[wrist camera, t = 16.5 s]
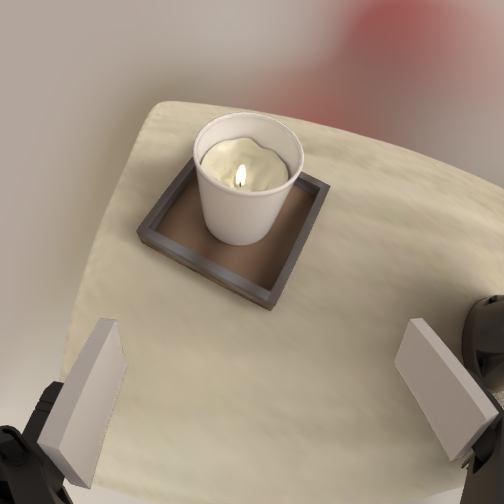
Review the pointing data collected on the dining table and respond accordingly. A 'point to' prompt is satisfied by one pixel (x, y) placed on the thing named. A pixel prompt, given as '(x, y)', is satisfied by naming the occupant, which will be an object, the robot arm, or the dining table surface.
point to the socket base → (230, 256)
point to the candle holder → (245, 174)
